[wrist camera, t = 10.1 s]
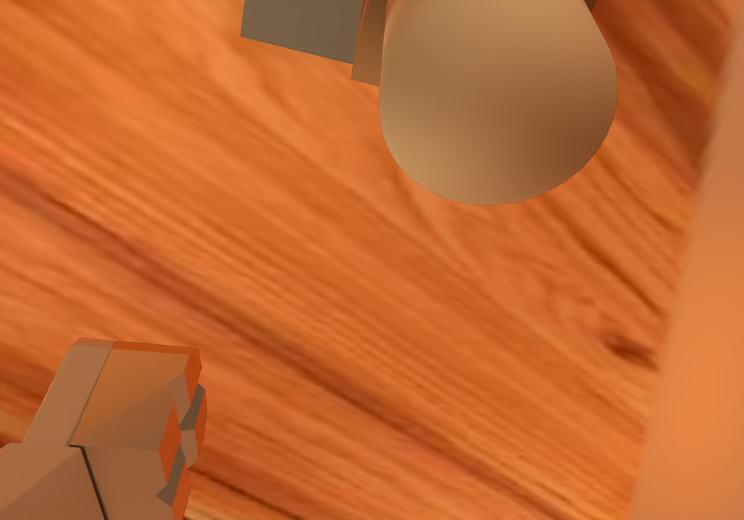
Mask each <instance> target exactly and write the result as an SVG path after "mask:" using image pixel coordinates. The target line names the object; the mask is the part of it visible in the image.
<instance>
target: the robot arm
mask: <svg viewBox="0 0 744 520" xmlns="http://www.w3.org/2000/svg"><path fill="white" fill-rule="evenodd" d="M201 368H202V365H201V360H200V354H199V350H198V349H196V348H190V347H179V346H168V345H158V344H147V343H136V342H126V341H109V340H98V339H86V338H79V339H78V340H77V341H76V342H75V343H74V344H73V345H72V346H71V347H70V348H69V350H68V352H67V354H66V355H65V357H64V359H63V361H62V363H61V365H60V367H59V369H58V371H57V373H56V375H55V377H54V379H53V381H52V383H51V385H50V387H49V389H48V391H47V393H46V395H45V397H44V399H43V401H42V403H41V405H40V407H39V409H38V411H37V413H36V415H35V417H34V419H33V421H32V423H31V425H30V427H29V429H28V431H27V433H26V434H25V436H24V438H23V440H22V442H21V443H8V444H6V445H5V446H4V447H2V448H1V449H0V520H183V516H184V512H185V509H186V505H187V501H188V498H189V494H190V490H191V487H190V482H189V476H188V470H187V469H188V468H189V467H190V466H191V465H193V464H194V463H195V462H196V461H197V460H198V459H199V456H200V452H201V448H202V444H203V440H204V433H205V426H206V418H207V401H206V393H205V389H204V388H203V387H202V386H201V385H200V384H198V383H197V382H198V379H199V375H200V372H201Z"/></svg>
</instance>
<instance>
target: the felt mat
mask: <svg viewBox="0 0 744 520" xmlns="http://www.w3.org/2000/svg"><path fill="white" fill-rule="evenodd" d="M362 4H363V0H245V5H244V13H243V21H242V29H241V37H245V38H249V39H253V40H257V41H261V42H265V43H269V44H273V45H277V46H281V47H285V48H289V49H293V50H297V51H301V52H305V53H309V54H313V55H317V56H321V57H325V58H329V59H333V60H338V61H342V62H346V63H350V64H353V63H354V57H355V50H356V44H357V37H358V31H359V24H360V17H361V11H362Z"/></svg>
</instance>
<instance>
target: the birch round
mask: <svg viewBox="0 0 744 520" xmlns="http://www.w3.org/2000/svg"><path fill="white" fill-rule="evenodd" d="M617 98H618V78H617V72H616V66H615V63H614V60H613V57H612V54H611V51H610V49H609V47H608V45H607V43H606V41H605V39H604V38H603V36H602V34H601V32H600V30H599V28H598V26H597V24H596V22H595V20H594V18H593V16H592V14H591V13H590V11H589V9H588V7H587V5H586V3H585V1H584V0H387V4H386V16H385V29H384V41H383V54H382V67H381V79H380V92H379V120H380V126H381V130H382V134H383V138H384V140H385V142H386V145H387V147H388V149H389V151H390V153H391V155H392V156H393V158H394V160H395V161H396V162H397V164H398V165H399V166H400V167H401V169H402V170H403V171H404V172H405V173H406V174H407V175H408V176H409V177H410V178H411V179H412V180H414V181H415V182H416V183H418V184H419V185H420V186H422V187H423V188H425V189H427V190H429V191H430V192H432V193H434V194H436V195H439V196H441V197H443V198H446V199H449V200H452V201H456V202H460V203H465V204H471V205H485V206H491V205H504V204H511V203H516V202H520V201H524V200H528V199H531V198H534V197H536V196H539V195H541V194H544V193H546V192H548V191H550V190H552V189H554V188H556V187H557V186H559V185H560V184H562V183H563V182H565V181H567V180H568V179H569V178H571V177H572V176H573V175H574V174H576V173H577V172H578V171H579V170H580V169H581V168H582V167H583V166H584V165H585V164H586V163H587V162H588V161H589V160H590V159H591V158H592V156H593V155H594V154H595V153H596V151H597V150H598V149H599V147H600V146H601V144H602V142H603V140H604V139H605V137H606V135H607V133H608V131H609V128H610V126H611V124H612V121H613V118H614V114H615V110H616V105H617Z"/></svg>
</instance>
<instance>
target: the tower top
mask: <svg viewBox="0 0 744 520" xmlns="http://www.w3.org/2000/svg"><path fill="white" fill-rule="evenodd" d="M584 1H585V3H586V5H587V7H588V9H589V11H590V13H591V11H592V9H593V7H594V4H595V2H596V0H584ZM386 4H387V0H364V1H363V5H362V11H361V17H360V24H359V31H358V37H357V44H356V50H355V57H354V63H353V70H352V77H351V79H352V80H356V81H360V82H364V83H368V84H372V85H377V86H380V79H381V67H382V54H383V41H384V29H385V16H386Z"/></svg>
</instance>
